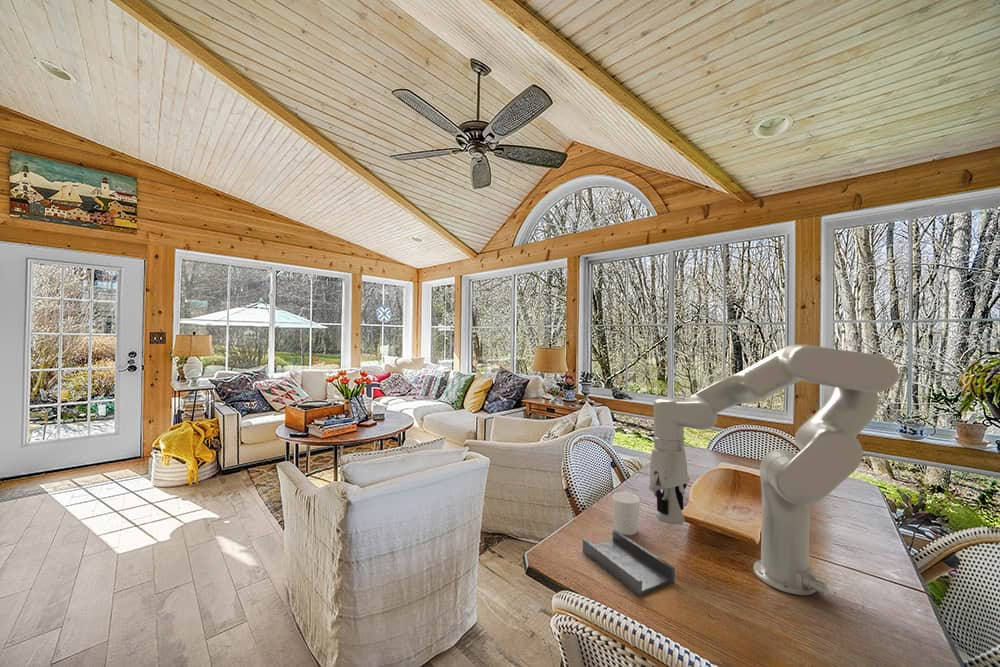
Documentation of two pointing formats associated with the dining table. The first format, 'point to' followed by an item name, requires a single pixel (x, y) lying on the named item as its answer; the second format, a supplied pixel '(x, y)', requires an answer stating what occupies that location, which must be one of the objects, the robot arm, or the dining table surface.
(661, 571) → the track
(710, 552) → the dining table surface
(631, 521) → the white cup
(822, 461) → the robot arm
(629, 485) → the dining table surface
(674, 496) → the flask
